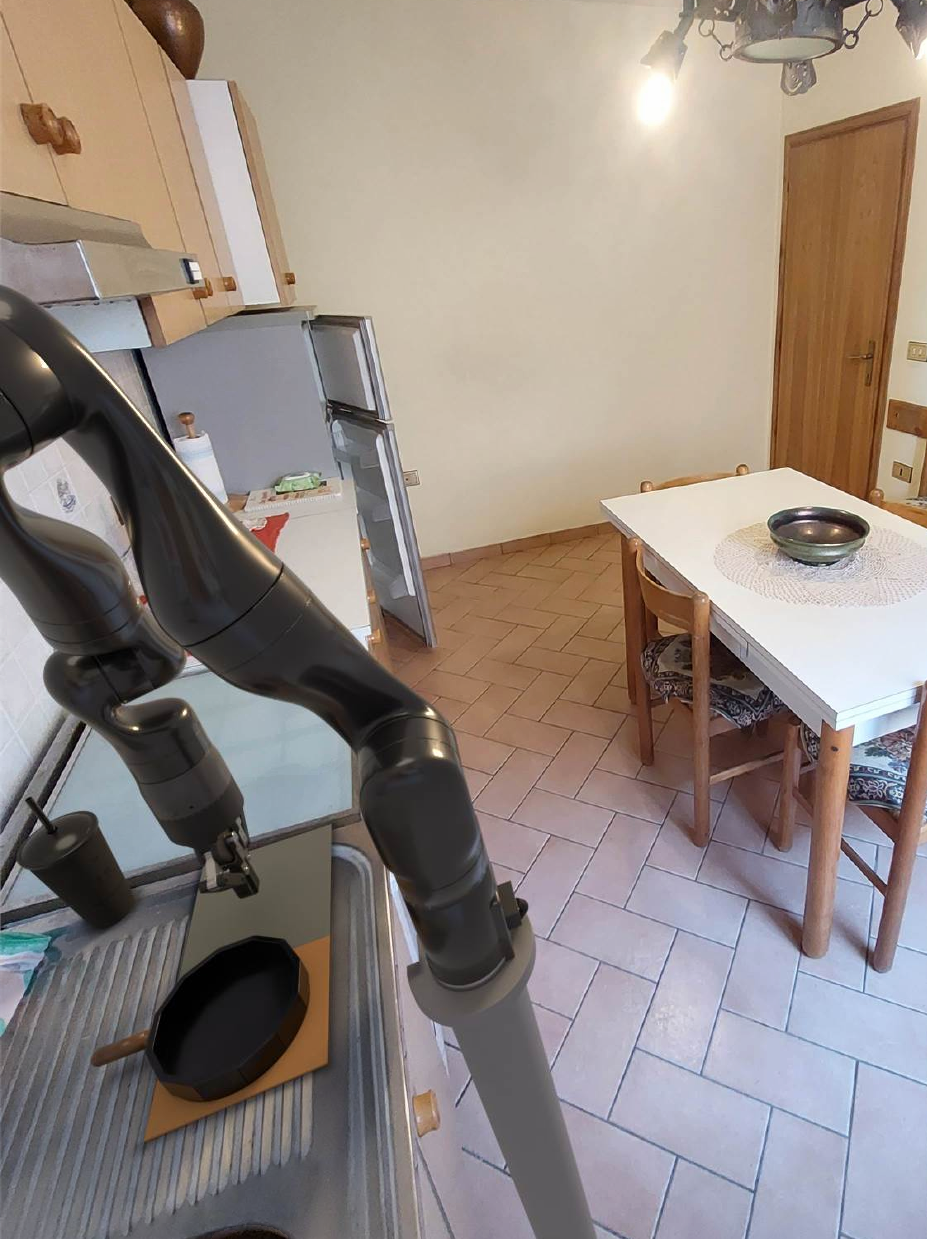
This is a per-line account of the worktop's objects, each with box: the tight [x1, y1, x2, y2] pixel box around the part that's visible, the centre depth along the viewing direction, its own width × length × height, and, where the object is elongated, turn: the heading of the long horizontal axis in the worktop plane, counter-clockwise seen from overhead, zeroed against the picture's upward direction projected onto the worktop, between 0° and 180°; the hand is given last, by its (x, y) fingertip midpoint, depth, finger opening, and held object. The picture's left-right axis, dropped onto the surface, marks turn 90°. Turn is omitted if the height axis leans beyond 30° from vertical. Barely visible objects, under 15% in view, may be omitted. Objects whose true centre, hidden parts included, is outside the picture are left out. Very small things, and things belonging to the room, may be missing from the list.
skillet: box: [90, 935, 310, 1102], centre depth 67 cm, size 19×14×4 cm
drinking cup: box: [16, 796, 136, 930], centre depth 77 cm, size 8×8×20 cm
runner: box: [143, 823, 333, 1143], centre depth 75 cm, size 16×31×1 cm, turn 20°
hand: (250, 890), depth 78 cm, fingers closed
